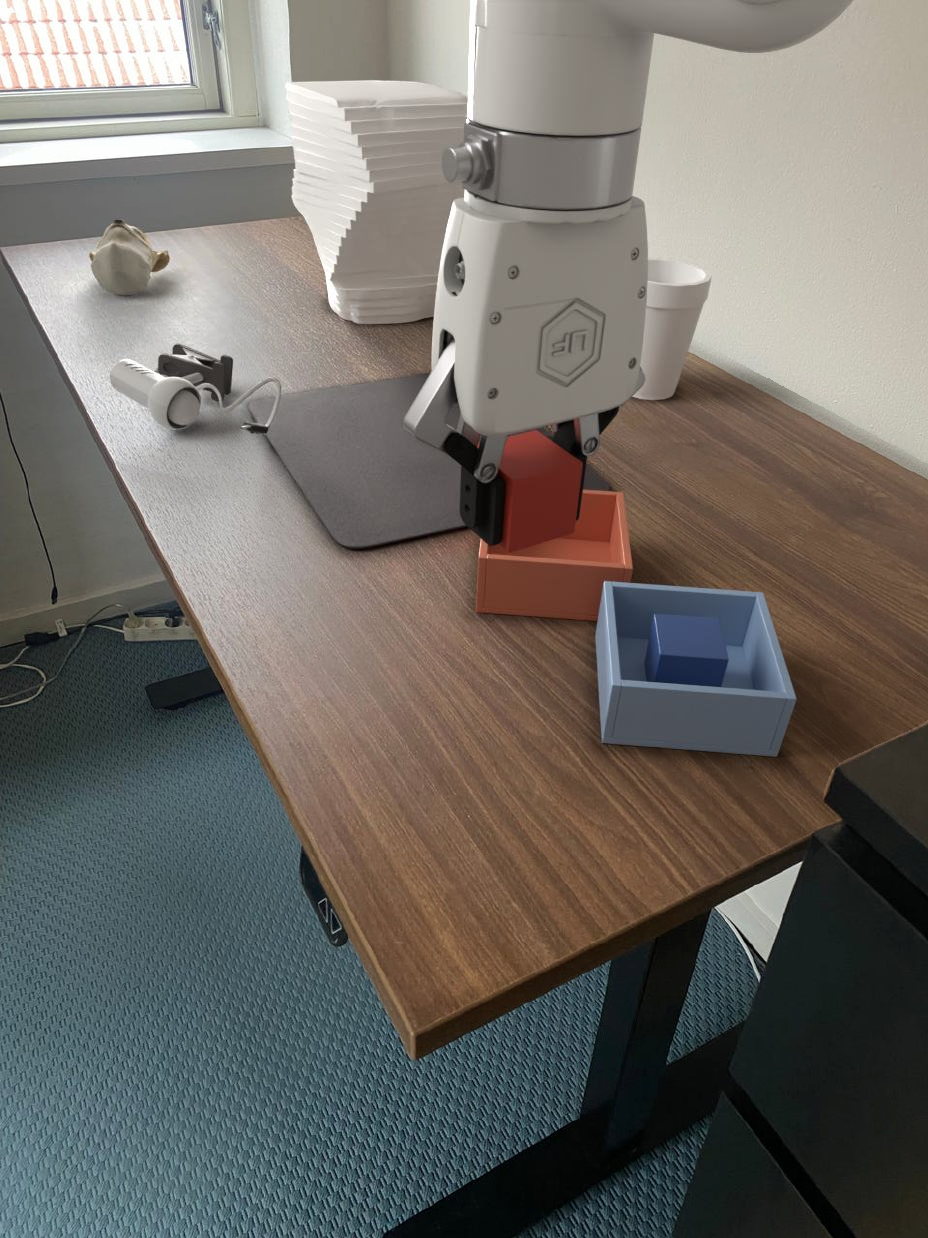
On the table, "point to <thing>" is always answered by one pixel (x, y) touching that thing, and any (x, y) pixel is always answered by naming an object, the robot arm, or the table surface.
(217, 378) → the clip-on lamp
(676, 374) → the foam cup
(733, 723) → the blue bin
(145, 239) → the ceramic sculpture
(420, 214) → the paper stack
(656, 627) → the blue block
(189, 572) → the table surface
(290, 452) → the mouse pad
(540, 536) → the red block
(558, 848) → the table surface
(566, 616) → the red bin
